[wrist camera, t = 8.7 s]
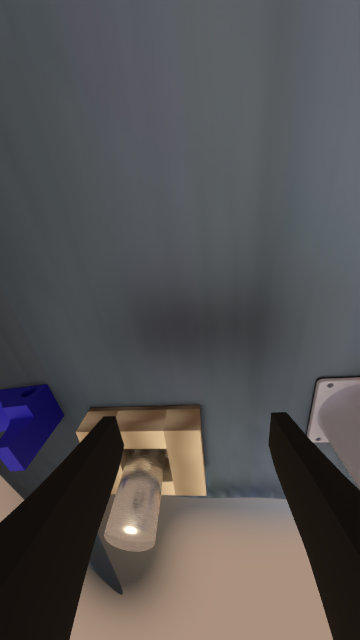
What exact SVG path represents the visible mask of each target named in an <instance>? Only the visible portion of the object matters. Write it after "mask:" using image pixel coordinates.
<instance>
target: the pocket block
mask: <svg viewBox="0 0 360 640" xmlns="http://www.w3.org/2000/svg"><path fill="white" fill-rule="evenodd" d="M103 416H116V419H117V423H118V426H119V429H120V433H121V436H122V439H123V442H124V450H123V454H122V459H121V463H120V467H119V471H118V474H117V477H116V480H115V483H114V486H113V489H112V492H111V494H116V493H117V489H118V486H119V483H120V479H121V476H122V473H123V469H124V466H125V462H126V459H127V456H128V452H129V449H167V451H166V459H165V467H164V474H163V482H162V490H161V495H194V496H206V477H205V461H204V449H203V438H202V427H201V415H200V405H179V406H142V407H105V408H90V409H89V411H88V413H87V414H86V416H85V418H84V419H83V421H82V423H81V424H80V426H79V428H78V429H77V431H76V434H77V436H78V439H79V441H80V442H81V441H82V440H83V439H84V438H85V436H86V435H87V434H88V433H89V432H90V431H91V430H92V429H93V427H94V426H95V425H96V424H97V423H98V422H99V421H100V420H101V419H102V417H103Z"/></svg>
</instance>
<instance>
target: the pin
mask: <svg viewBox="0 0 360 640" xmlns="http://www.w3.org/2000/svg"><path fill="white" fill-rule="evenodd" d="M166 451H167V449H129V452H128V456H127V459H126V462H125V466H124V469H123V473H122V476H121V479H120V483H119V486H118V489H117V493H116V496H115V499H114V503H113V507H112V510H111V513H110V516H109V520H108V523H107V527H106V530H105V534H104V537H105V539H106V541H107V542H108V543H110V544H111V545H113V546H115V547H117V548H119V549H123V550H127V551H145V550H148V549H150V548H152V547H153V546H154V544H155V538H156V530H157V522H158V514H159V506H160V498H161V490H162V482H163V474H164V467H165V459H166Z"/></svg>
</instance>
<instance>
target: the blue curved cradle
mask: <svg viewBox="0 0 360 640" xmlns="http://www.w3.org/2000/svg"><path fill="white" fill-rule="evenodd" d="M63 417H64V414H63V412H62V410H61V409H60V407H59V405H58V403H57V401H56V400H55V398H54V396H53V394H52V392H51V390H50V389H49V387H48V385H47V384H45V385H37V386H29V387H21V388H13V389H5V390H0V432H1V431H5V433H4V435H3V436H2V437H1V439H0V459H1V460H2V461H3V463H4V464H5V465H6V466H7V468H8V469H9V470H10V471H21V470H26V468H27V467H28V465H29V464H30V463H31V461H32V460H33V458H34V457H35V456H36V454H37V453H38V451H39V450H40V449H41V447H42V446H43V445H44V443H45V442H46V440H47V439H48V438H49V436H50V435H51V433H52V432H53V431H54V429H55V428H56V426H57V425H58V424H59V422H60V421H61V419H62V418H63Z"/></svg>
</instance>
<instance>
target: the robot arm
mask: <svg viewBox="0 0 360 640" xmlns="http://www.w3.org/2000/svg"><path fill="white" fill-rule="evenodd" d="M328 384H329V385H328ZM313 442H330V444H331V445H332V447H333V449H334V450H335V452H336V453H337V455H338V456H339V458H340V459H341V461H342V463H343V464H344V466H345V467H346V469H347V470H348V472H349V473H350V475H351V476H352V478H353V480H354V481H355V483H356V484H357V486H358V487H359V489H360V377H358V378H331V379H320V380H319V381H318V382H317V384H316V389H315V395H314V400H313V405H312V410H311V416H310V421H309V426H308V432H307V435H306V434H305V433H304V432H303V431H302V430H301V429H300V428H299V426H298V425H297V424H296V423H295V422H294V421H293V419H292V418H291V417H290V416H289V415H288V414H287V413H286V412H278V413H271V423H270V434H269V448H270V452H271V455H272V459H273V463H274V466H275V470H276V473H277V475H278V478H279V481H280V483H281V486H282V489H283V491H284V494H285V496H286V499H287V501H288V504H289V507H290V509H291V512H292V515H293V517H294V520H295V523H296V525H297V528H298V530H299V533H300V536H301V538H302V541H303V543H304V546H305V549H306V552H307V555H308V558H309V561H310V564H311V567H312V571H313V574H314V577H315V580H316V584H317V587H318V590H319V593H320V597H321V600H322V603H323V606H324V610H325V613H326V617H327V620H328V623H329V627H330V630H331V633H332V636H333V640H360V490H359V489H358V488H357V487H356V486H355V485H354V484H352V483H351V482H350V481H349V480H348V479H347V478H346V477H345V476H344V475H343V474H342V473H341V472H340V471H339V470H338V469H337V468H336V466H335V465H334V464H333V463H332V462H331V461H330V460H329V459H328V458H327V457H326V456H325V455H324V454H323V453H322V452H321V451H320V450H319V449H318V448H317V446H316V445H315V444H314V443H313ZM123 450H124V442H123V439H122V436H121V433H120V429H119V426H118V423H117V419H116V416H103V417H102V419H101V420H100V421H99V422H98V423H97V424H96V425H95V426H94V427H93V429H92V430H91V431H90V432H89V433H88V434H87V435H86V436H85V438H84V439H83V440H82V441H81V442H80V443H79V444H78V445H77V447H76V448H75V449H74V450H73V451H72V452H71V453H70V454H69V455H68V456H67V458H66V459H65V460H64V461H63V462H62V463H61V464H60V465H59V466H58V467H57V468H56V469H55V470H54V471H53V472H52V473H51V474H50V475H49V476H48V477H47V479H46V480H45V481H44V482H43V483H42V484H41V485H40V486H39V487H38V488H37V489H36V490H35V491H34V492H33V493H32V494H31V495H30V496H28V497H27V498H26V499H25V500H24V501H23V502H22V503H21V504H20V505H19V506H18V507H17V508H16V509H15V510H13V511H12V512H11V513H10V514H9V515H8V516H7V517H6V518H5V519H4V520H2V521H1V522H0V640H69V639H70V635H71V631H72V626H73V622H74V618H75V614H76V610H77V606H78V602H79V598H80V594H81V590H82V586H83V582H84V579H85V575H86V571H87V567H88V564H89V560H90V556H91V552H92V549H93V545H94V542H95V539H96V536H97V532H98V529H99V527H100V524H101V521H102V518H103V515H104V512H105V509H106V506H107V503H108V500H109V497H110V495H111V492H112V489H113V486H114V483H115V480H116V477H117V474H118V471H119V467H120V463H121V459H122V454H123Z"/></svg>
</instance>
